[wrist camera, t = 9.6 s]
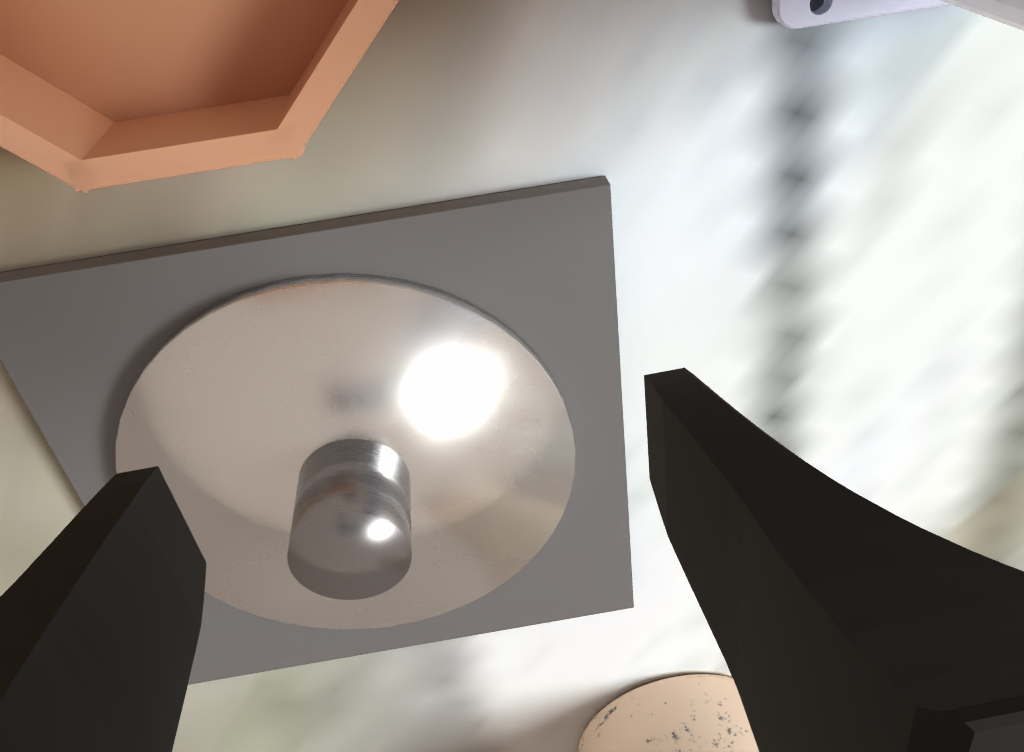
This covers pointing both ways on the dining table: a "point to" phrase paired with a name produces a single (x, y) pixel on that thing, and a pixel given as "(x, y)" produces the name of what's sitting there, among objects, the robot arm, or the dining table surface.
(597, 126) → the dining table surface
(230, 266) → the charcoal mat
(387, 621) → the steel lid
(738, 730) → the teacup with lid
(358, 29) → the terracotta bowl
